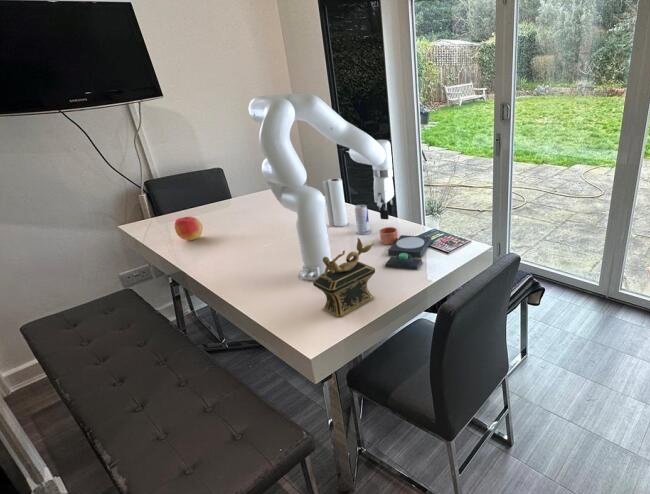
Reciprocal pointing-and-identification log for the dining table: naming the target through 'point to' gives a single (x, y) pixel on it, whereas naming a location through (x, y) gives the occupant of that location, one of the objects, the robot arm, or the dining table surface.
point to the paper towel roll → (335, 202)
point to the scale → (410, 246)
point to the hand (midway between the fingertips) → (387, 216)
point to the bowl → (388, 235)
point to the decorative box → (345, 282)
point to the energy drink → (362, 219)
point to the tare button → (403, 256)
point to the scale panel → (404, 263)
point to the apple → (188, 228)
